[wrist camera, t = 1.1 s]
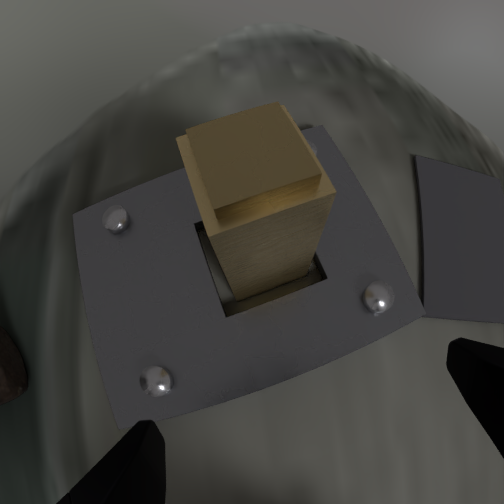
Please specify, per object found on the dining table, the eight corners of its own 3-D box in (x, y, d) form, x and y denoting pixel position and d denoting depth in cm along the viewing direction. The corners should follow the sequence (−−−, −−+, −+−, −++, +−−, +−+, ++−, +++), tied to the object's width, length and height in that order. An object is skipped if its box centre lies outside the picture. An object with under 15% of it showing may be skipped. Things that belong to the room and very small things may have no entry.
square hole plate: (419, 316, 20) (431, 311, 18) (125, 427, 19) (113, 431, 17) (320, 134, 26) (323, 118, 24) (79, 220, 24) (67, 209, 23)
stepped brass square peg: (305, 275, 22) (340, 180, 11) (237, 301, 21) (204, 227, 10) (278, 214, 24) (283, 91, 13) (213, 237, 23) (171, 125, 12)
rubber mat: (514, 324, 19) (517, 323, 19) (421, 316, 20) (423, 315, 20) (497, 181, 24) (499, 179, 24) (414, 157, 25) (415, 155, 25)
